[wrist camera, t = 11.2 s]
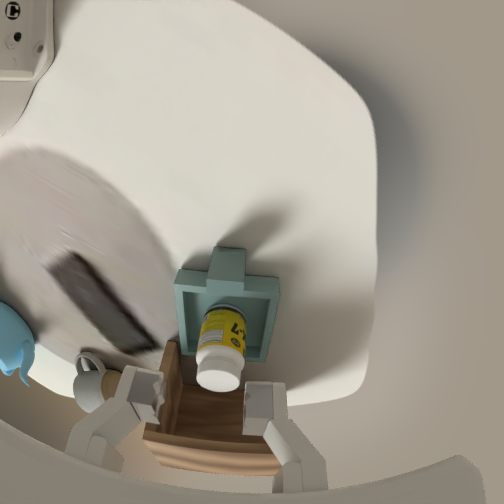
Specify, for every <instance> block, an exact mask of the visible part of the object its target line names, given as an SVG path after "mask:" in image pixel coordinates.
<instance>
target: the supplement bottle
mask: <svg viewBox="0 0 504 504" xmlns="http://www.w3.org/2000/svg"><path fill="white" fill-rule="evenodd" d="M245 346H246V317H245V315H244V314H243V312H242V311H241V310H240V309H238V308H237V307H235V306H232V305H228V304H219V305H215V306H212V307H210V308H209V309H208V310H207V311H206V312H205V314H204V317H203V322H202V327H201V332H200V338H199V343H198V348H197V353H196V362H197V364H198V369H197V382H198V383H199V384H200V385H201V386H202V387H204V388H206V389H208V390H211V391H216V392H228V391H232V390H235V389H236V388H237V387H238V386H239V384H240V378H241V370H242V369H243V368H244V364H245Z"/></svg>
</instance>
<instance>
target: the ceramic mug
mask: <svg viewBox="0 0 504 504" xmlns="http://www.w3.org/2000/svg"><path fill="white" fill-rule="evenodd" d="M81 357H86V358H88V359H90V360H91V361H92V362H93V363H94V364H95V365H96V367H97V368H98V370H91V371H84V369H83V367H82V364H81ZM75 366H76V370H77V372H78V375H77V376H76V378H75V380H74V383H73V392H74V396H75V399H76V401H77V403H78V405H79V406H80V407H81V408H82V409H83V410H84V411H86V412H88V413H91V412H92V411H94V410H95V409H96V408H98V407H99V406H100V405H101V404H103V403H104V402H105V401H107V400H108V399H109V398H110V397H112V398H114V396H115V393H116V390H117V387H118V384H119V381H120V378H121V376H122V374H121V373H120V372H118V371H116V370H109V369H107V370H106V369H105V366H104V364H103V363H102V362H101V360H100V359H99V358H98V357H97V356H96V355H95V354H93V353H91V352H82V353H81V354H79V355H78V356H77V357H76V359H75Z"/></svg>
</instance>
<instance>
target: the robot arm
mask: <svg viewBox="0 0 504 504" xmlns="http://www.w3.org/2000/svg"><path fill="white" fill-rule="evenodd" d="M42 47H43V49H42ZM41 49H42V51H41ZM53 59H54V41H53V0H0V136H2V135H3V134H5V133H6V132H8V131H9V130H10V129H11V128H12V127H13V126H14V125H15V123H16V122H17V121H18V119H19V118H20V116H21V114H22V113H23V111H24V109H25V107H26V105H27V102H28V100H29V97H30V95H31V92H32V90H33V88H34V86H35V84H36V82H37V81H38V80H39V79H40V78H41V77H42V76H43V74H44V73H45V72H46V71H47V70H48V68H49V67H50V65H51V64H52V62H53ZM163 378H164V374H163V372H162V371H156V370H150V369H145V368H140V367H135V366H130V365H126V367H125V368H124V370H123V373H122V376H121V378H120V381H119V384H118V387H117V390H116V393H115V396H114V398H112V397H110V398H109V399H108V400H107V401H105V402H104V403H103V404H101V405H100V406H99V407H98V408H96V409H95V410H94V411H92V412H91V413H90V414H89V415H87V416H86V417H85V418H83V419H82V420H81V421H79V422H78V423H77V424H76V425H75V426H73V428H72V431H71V434H70V437H69V440H68V443H67V446H66V450H65V452H64V453H63V452H60V451H58V450H56V449H54V448H52V447H49V446H47V445H45V444H43V443H41V442H39V441H37V440H35V439H34V438H32V437H30V436H28V435H26V434H24V433H22V432H21V431H19V430H17V429H15V428H14V427H12V426H10V425H8V424H7V423H5V422H4V421H2V420H1V419H0V504H486V497H485V491H484V485H483V479H482V476H481V473H480V470H479V469H478V468H477V467H476V466H475V465H474V464H473V463H471V462H470V461H469V460H467V459H466V458H465V457H463V456H461V455H456V456H453V457H450V458H448V459H445V460H443V461H440V462H437V463H435V464H432V465H429V466H426V467H423V468H420V469H417V470H414V471H411V472H408V473H404V474H401V475H398V476H394V477H390V478H386V479H383V480H378V481H374V482H369V483H364V484H359V485H354V486H348V487H342V488H335V489H328V483H327V482H328V481H327V472H326V463H325V459H324V458H323V456H322V455H321V454H320V453H319V452H318V451H317V450H316V448H315V447H314V446H313V445H312V444H311V443H310V441H309V440H308V439H307V438H306V436H305V435H304V434H303V433H302V431H301V430H300V429H299V428H298V427H297V425H296V424H295V423H294V422H293V420H292V419H288V411H287V396H286V385H285V383H284V382H260V381H246V384H245V391H244V399H243V412H244V414H243V421H242V435H258V436H263V438H264V439H265V441H266V442H267V444H268V445H269V447H270V448H271V450H272V451H273V453H274V455H275V456H276V457H277V459H278V460H279V462H280V463H281V465H282V467H281V469H280V470H279V471H278V472H277V473H276V474H275V475H274V476H273V478H272V494H252V493H228V492H217V491H216V492H215V491H207V490H198V489H191V488H184V487H178V486H172V485H167V484H162V483H156V482H152V481H147V480H144V479H139V478H135V477H132V476H128V475H124V474H121V472H122V468H123V462H124V458H123V456H122V455H121V454H120V453H119V452H118V451H117V450H116V449H115V447H116V446H117V445H118V444H119V443H120V442H122V440H124V439H125V437H126V436H128V434H130V432H132V431H133V429H134V428H135V427H136V426H137V425H138V424H139V423H140V422H141V421H143V422H149V423H154V424H160V422H161V418H162V413H163V410H162V407H161V405H162V404H163V403H164V402H165V399H166V391H167V387H166V382H165V381H164V380H163Z"/></svg>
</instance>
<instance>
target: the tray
mask: <svg viewBox="0 0 504 504" xmlns="http://www.w3.org/2000/svg"><path fill="white" fill-rule="evenodd" d="M245 259H246V249H236V248H225V247H214V249H213V253H212V258H211V262H210V266H209V270H208V272H204V271H194V270H183V269H179V271H178V274H177V276H176V279H175V282H174V292H175V302H176V311H177V320H178V329H179V337H180V345H181V352H182V355H189V356H196V353H197V348H198V343H199V338H200V332H201V327H202V322H203V317H204V314H205V312H206V311H207V310H208V309H209V308H210V307H212V306H215V305H219V304H228V305H232V306H235V307H237V308H238V309H240V310H241V311H242V312H243V314H244V315H245V317H246V346H245V361H252V362H265V361H266V356H267V352H268V347H269V343H270V338H271V334H272V329H273V325H274V320H275V315H276V311H277V306H278V301H279V296H280V288H279V278H273V277H260V276H248V275H245Z"/></svg>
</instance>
